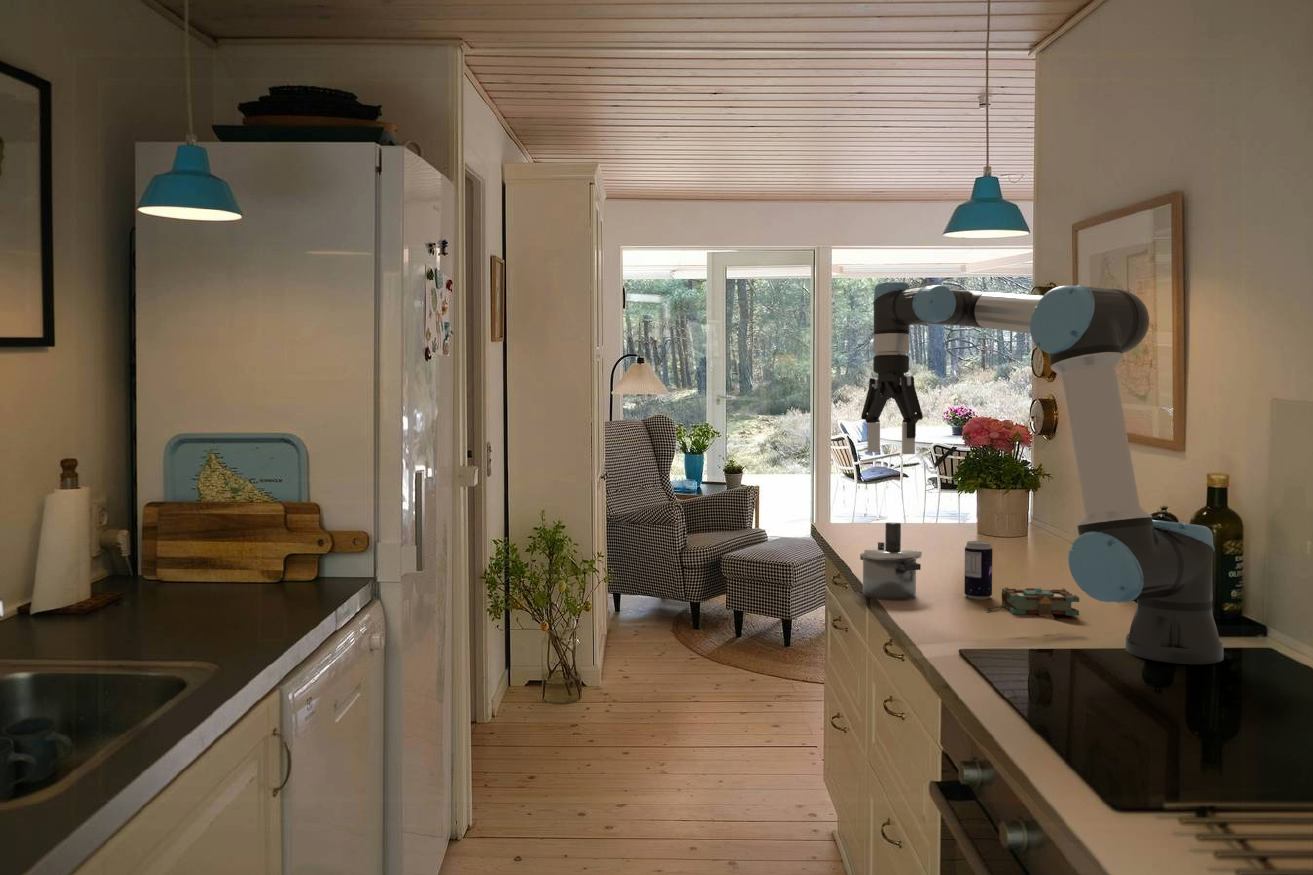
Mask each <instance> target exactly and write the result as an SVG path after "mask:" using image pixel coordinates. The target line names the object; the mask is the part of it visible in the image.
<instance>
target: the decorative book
mask: <svg viewBox="0 0 1313 875" xmlns="http://www.w3.org/2000/svg"><path fill="white" fill-rule="evenodd" d="M1001 590H1002V591H1001V606H995V607H988V608H984V609H983V611H985V613H988V614H990V613H993V612H994V613H995V612H997V611H999V610H1001V609H1007V610H1009V613H1011V614H1013V615H1027V614H1034V615H1035V614H1036V615H1037V616H1039V617H1041V618H1044V619H1049V620H1055V618H1056V617H1054V615H1065V616H1080V610H1078V609H1076V608H1073V607H1072V603H1080V597H1079V596H1078V595H1076V594H1073V593H1070V591H1068V590H1067V589H1065V588H1061V589H1042V588H1041V587H1037V588H1030V587H1029V588H1028V587H1027V588H1025V589H1016V588H1009V587H1007V586H1006V587H1003V588H1001ZM992 609H997V610H992Z"/></svg>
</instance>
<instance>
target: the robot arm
mask: <svg viewBox="0 0 1313 875" xmlns="http://www.w3.org/2000/svg"><path fill="white" fill-rule="evenodd" d="M873 293H874V295H873V302H872V304H873V339H872V340H873V343H872V344H873V346H872V347H873V348H872V349H873V351H872V352H873V353H874V354H875V355H874V357H873V359H872V360H873V364H872V366H873V370H872V371H873V373H875V374H878V376H877V377H869V381H868V382H869V383H868V390H867V393H866V398H865V401H864V405H863V409H862V412H861V415H860V416H861V418H860V419H861V420H863V421H865V422H866V424H867V426H866V427H867V429H866V432H867V433H866V434H867V453H880V451H881V421H880V417H881V415H882V412H883V410H884V409H885V406H886V403H887V401H889V400H890V399H892V400H894V401H895V403H896V406H897V407H898V410H899V412H900V414H901V416H902V421H901V422H902V424H901V454H902V455H916V436H917V434H916V430H917V423H918V421H920V420H923V418H924V415H923V412H922V408H921V405H920V401H919V398H918V395H917V389H916V387H915V377H914V376H913V375H905V374H907V373H908V372H910V356H909V355H907V354H909V353H910V326H912V325H924V324H925V325H945V326H959V327H961V326H962V327H971V328H979V329H980V328H981V329H990V330H999V331H1006V332H1014V333H1015V332H1018V333H1023V334H1030V336H1031V339H1032V342H1033V343H1034V345H1035V346H1036V347H1038V348H1039V350H1041V351H1043V353H1046V354H1048V360H1049V366H1050V370H1051V371H1053V372H1054V373H1056V374H1057V375H1059V376H1060V378H1061V381H1062V386H1063V392H1064V397H1065V402H1066V403H1065V404H1066V410H1067V417H1068V420H1069V427H1070V433H1071V438H1072V445H1073V450H1074V455H1075V456H1074V457H1075V463H1076V467H1077V468H1076V469H1077V473H1078V480H1079V485H1080V492H1081V497H1082V504H1083V509H1084V514H1083V516H1082V518H1081V519H1080V520H1079V521H1078V522H1077V524H1076V525H1077V526H1076V527H1077V532H1078V537H1076V539H1074V541H1073V542H1072V544H1071V545H1072V547H1071V548H1070V549H1069V551H1068V559H1067V560H1068V561H1067V562H1068V566H1069V571H1070V575H1071V577H1072V579H1073V580H1074V582H1075V583H1076V585H1077V586H1078V588H1079V589H1080V590H1081V591H1082V592H1084V593H1085V594H1087V596H1088V597H1089V598H1092V599H1093V600H1097V601H1099V602H1104V603H1118V604H1119V603H1130V602H1132V601H1136V600H1137V602H1136V609H1135V612H1134V616H1133V618H1132V621H1131V625H1130V628H1129V631H1128V633H1127V634H1126V636H1125V651H1126V652H1127V653H1129V654H1130V655H1132V656H1135V657H1138V658H1142V659H1146V660H1150V661H1156V662H1161V663H1169V664H1177V665H1178V664H1181V665H1212V664H1217V663H1221V662H1222V661H1224V645H1223V642H1222V641H1221V640H1220V636H1219V633H1218V629H1217V628H1218V627H1217V625H1216V621H1215V619H1214V615H1213V595H1214V594H1213V591H1214V589H1213V588H1214V552H1215V550H1216V549H1215V546H1214V535H1213V532H1212V530H1211V529H1210V528H1209V527H1208V526H1206V525H1201V524H1200V525H1199V524H1193V523H1184V522H1177V521H1176V522H1175V521H1165V520H1155V519H1153V515H1152V514H1150V513H1149V512H1147V511H1146V510H1144V509H1143V508H1142V507H1141V504H1140V500H1139V494H1138V488H1137V487H1138V486H1137V483H1136V477H1135V472H1134V464H1133V461H1132V455H1131V449H1130V444H1129V437H1128V433H1127V426H1126V421H1125V416H1124V411H1123V409H1124V408H1123V405H1122V404H1123V403H1122V398H1121V393H1120V387H1119V382H1118V376H1117V371H1116V367H1117V366H1118V365H1119V363H1120V362H1121V360H1122V359H1123V358H1124V354H1126V353H1127V352H1130V351H1132V350H1133V349H1135V348H1136V347H1138V346H1139V345H1140V343H1141V342H1142V341H1143V340H1144V338H1145V337H1146V336H1147V333H1148V330H1149V326H1150V314H1149V311H1148V309H1147V306H1146V304H1145V303H1144V301H1143V300H1142V299H1141V298H1139V296H1137V295H1135V294H1134V293H1132V292H1130V291H1127V290H1122V289H1118V288H1117V289H1115V288H1105V287H1103V288H1102V287H1096V286H1095V287H1093V286H1085V285H1083V284H1073V285H1060V286H1056V287H1054V288H1051V289H1050V290H1048V291H1047V292H1046V293H1044V295H1036V294H1035V295H1034V294H1021V293H1007V292H1006V293H1005V292H992V291H989V292H988V291H985V290H969V289H968V290H964V289H952V288H949V287H947V286H945V285H943V284H935V285H933V284H929V285H926V286H922V287H916V288H910V284H909V283H908V282H906V281H884V282H879V283H877V284H875V287H874V292H873Z"/></svg>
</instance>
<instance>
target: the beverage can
mask: <svg viewBox="0 0 1313 875" xmlns="http://www.w3.org/2000/svg"><path fill="white" fill-rule="evenodd" d="M963 585H964V586H963V587H964V589H963V592H964V595H965V596H966V597H967V598H968V599H973V600H978V601H979V600H980V601H981V600H989V598H990V597H991V596H992V595H993V547H992V546H991V542H990V541H985V540H983V541H982V540H981V541H979V540H970V541H966V545H965V547H964V584H963Z"/></svg>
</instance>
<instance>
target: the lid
mask: <svg viewBox="0 0 1313 875" xmlns="http://www.w3.org/2000/svg"><path fill="white" fill-rule="evenodd" d="M901 529H902V524H901V522H885V535H884V536H885V542H883V541H878V542H877V547H871V548H866V549H864V552H863V553H864V555H865V556H867V557H871V558H877V559H890V560H910V559H916V560H918V559H921V558H922V557H923V556H922V554H923V551H921V550H918V549H913V548H906V547H905V548H904V547H903V548H902V547H901V544H902V543H901V542H902V537H901V536H902V534H901V533H902V530H901Z"/></svg>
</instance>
